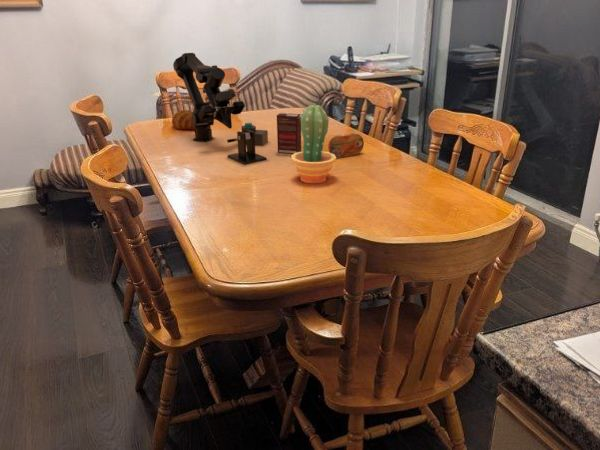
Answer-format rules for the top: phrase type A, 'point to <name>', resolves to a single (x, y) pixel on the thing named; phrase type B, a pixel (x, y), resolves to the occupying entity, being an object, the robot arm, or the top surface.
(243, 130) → the control block
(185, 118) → the pastry
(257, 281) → the top surface
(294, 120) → the supplement box
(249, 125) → the button
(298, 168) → the potted cactus
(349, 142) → the tin
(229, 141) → the lever
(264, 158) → the bracket
